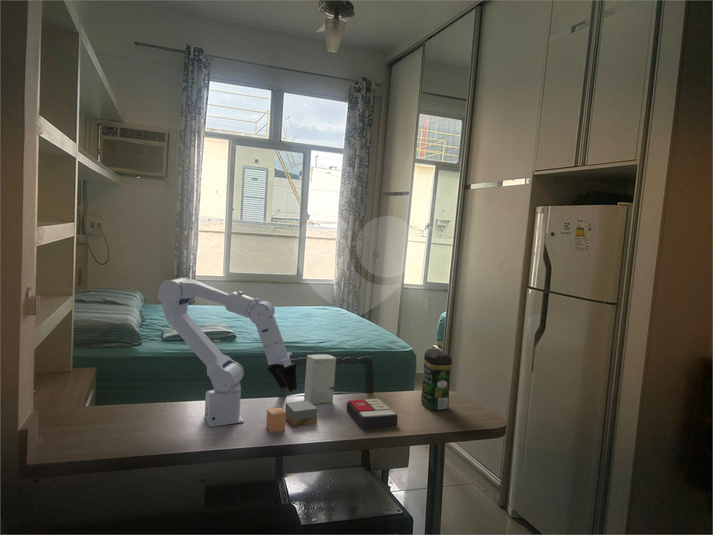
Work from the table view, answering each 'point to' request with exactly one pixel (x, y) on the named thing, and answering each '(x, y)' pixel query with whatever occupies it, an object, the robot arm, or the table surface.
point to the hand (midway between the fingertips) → (288, 388)
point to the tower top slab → (301, 410)
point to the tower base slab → (301, 421)
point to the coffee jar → (436, 380)
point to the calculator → (371, 414)
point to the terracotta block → (276, 419)
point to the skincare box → (320, 378)
